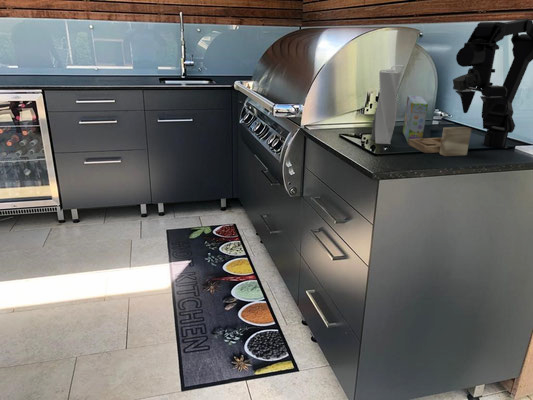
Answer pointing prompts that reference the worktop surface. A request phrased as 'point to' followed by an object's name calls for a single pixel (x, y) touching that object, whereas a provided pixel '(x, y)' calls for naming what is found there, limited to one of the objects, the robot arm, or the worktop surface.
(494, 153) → the worktop surface
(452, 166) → the worktop surface
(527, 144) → the worktop surface
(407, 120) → the snack box
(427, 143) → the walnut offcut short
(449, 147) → the birch panel
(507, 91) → the robot arm
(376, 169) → the worktop surface
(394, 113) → the skyscraper
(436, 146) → the oak rack
